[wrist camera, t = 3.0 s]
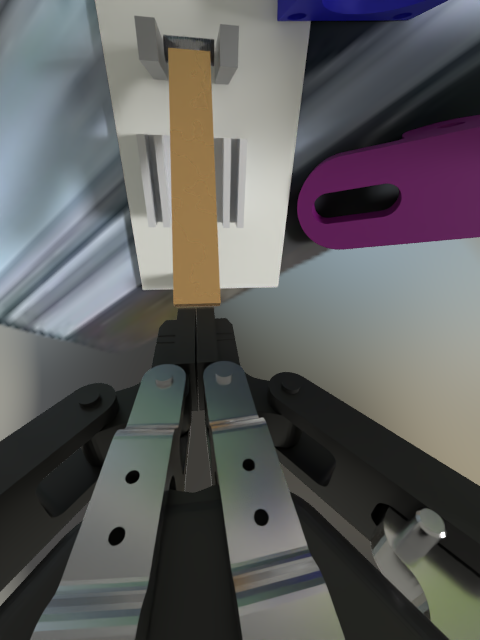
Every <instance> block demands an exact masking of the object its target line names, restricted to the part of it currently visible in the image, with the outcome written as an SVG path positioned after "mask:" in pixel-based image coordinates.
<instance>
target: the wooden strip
mask: <svg viewBox="0 0 480 640" xmlns="http://www.w3.org/2000/svg"><path fill="white" fill-rule="evenodd" d="M163 46H164V56H165V62H166V63H169V109H170V156H171V203H172V250H173V297H174V306H175V307H197V306H220V303H221V301H220V277H219V253H218V229H217V206H216V182H215V158H214V134H213V110H212V86H211V66H214V39H207V38H196V37H185V36H174V35H163Z"/></svg>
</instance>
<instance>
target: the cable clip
mask: <svg viewBox="0 0 480 640" xmlns="http://www.w3.org/2000/svg"><path fill="white" fill-rule="evenodd" d="M446 1H448V0H278V8H277V21H371V20H409V19H411V18H413V17H415V16H417V15H420V14H422V13H424V12H426V11H428V10H430V9H432V8H434V7H436V6H438V5H440V4H442V3H444V2H446Z"/></svg>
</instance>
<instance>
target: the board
mask: <svg viewBox="0 0 480 640" xmlns="http://www.w3.org/2000/svg"><path fill="white" fill-rule="evenodd" d="M95 4H96V10H97V16H98V22H99V28H100V34H101V41H102V47H103V53H104V59H105V65H106V71H107V77H108V83H109V89H110V95H111V101H112V107H113V113H114V119H115V125H116V131H117V137H118V143H119V150H120V156H121V162H122V168H123V174H124V180H125V186H126V192H127V198H128V204H129V210H130V216H131V222H132V228H133V234H134V240H135V246H136V252H137V258H138V265H139V271H140V277H141V283H142V289H143V290H159V289H173V250H172V203H171V156H170V109H169V63H166V62H165V56H164V46H163V35H174V36H185V37H196V38H207V39H214V66H211V86H212V110H213V134H214V158H215V182H216V206H217V229H218V253H219V277H220V288H259V287H278V282H279V274H280V266H281V258H282V250H283V242H284V234H285V226H286V217H287V209H288V201H289V193H290V185H291V177H292V169H293V161H294V153H295V145H296V137H297V129H298V121H299V113H300V105H301V97H302V89H303V80H304V72H305V64H306V56H307V48H308V40H309V32H310V24H311V21H277V8H278V0H95Z"/></svg>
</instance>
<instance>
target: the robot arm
mask: <svg viewBox="0 0 480 640" xmlns="http://www.w3.org/2000/svg"><path fill="white" fill-rule="evenodd" d="M198 390H199V407H200V410H205V429H206V438H207V447H208V455H209V464H210V473H211V482H212V486H211V487H209V488H206V489H204V490H201V491H198V492H195V493H189V492H185V478H186V469H187V460H188V450H189V441H190V431H191V430H190V429H191V428H190V426H191V421H192V411H198ZM80 447H81V448H80ZM75 451H76V452H75ZM74 452H75V453H74ZM73 453H74V454H73ZM68 457H69V458H68ZM67 458H68V459H67ZM62 462H63V463H62ZM61 463H62V464H61ZM280 463H281V464H283V465H284V466H285V467H286V468H287V469H288V470H289V471H291V472H292V473H293V474H294V475H295V476H296V477H298V478H299V479H300V480H301V481H302V482H303V483H304V484H305V485H307V486H308V487H309V488H310V489H311V490H312V491H313V492H315V493H316V494H317V495H318V496H319V497H321V499H323V500H324V501H325V502H326V503H327V504H328V505H329V506H331V507H332V508H333V509H334V510H335V511H336V512H337V513H339V514H340V515H341V516H342V517H343V518H344V519H346V520H347V521H348V522H349V523H350V524H351V525H352V526H354V527H355V528H356V529H357V530H358V531H359V532H360V533H361V534H363V535H364V536H365V537H366V538H367V539H368V540H369V541H371V549H372V553H373V557H374V559H375V562H376V564H377V565H378V567H379V569H380V571H381V572H380V571H379V570H378V569H376V568H375V567H374V566H373V565H372V564H371V563H370V562H369V561H368V560H367V559H366V558H365V557H364V556H363V555H362V554H361V553H360V552H359V551H358V550H357V549H356V548H355V547H354V546H353V545H352V544H350V542H349V541H348V540H347V539H345V537H343V536H342V535H341V534H340V533H339V532H338V531H337V530H336V529H335V528H334V527H333V526H332V525H331V524H330V523H329V522H328V521H327V520H326V519H325V518H324V517H323V516H322V515H321V514H320V513H319V512H318V511H317V510H316V509H315V508H313V507H312V506H311V505H310V504H309V503H307V502H306V501H305V500H304V499H302V498H300V497H299V496H297V495H296V494H294V493H292V492H289V489H288V486H287V483H286V480H285V477H284V474H283V471H282V468H281V465H280ZM56 467H57V468H56ZM55 468H56V469H55ZM54 469H55V470H54ZM49 473H50V474H49ZM48 474H49V475H48ZM89 501H90V502H89ZM88 502H89V505H88V508H87V511H86V513H85V516H84V519H83V521H82V522H80V523H79V524H78V525H76V526H75V527H74V528H73V529H72V530H71V531H70V532H69V533H67V534H66V535H65V536H64V537H63V538H62V539H61V540H60V541H59V543H58V544H57V545H56V546H55V547H54V548H53V549H52V550H51V551H50V552H49V553H48V555H47V556H46V557H45V558H44V559H43V560H42V561H41V562H40V564H38V565H37V567H36V568H35V569H34V570H33V571H32V572H31V573H30V574H29V575H28V576H27V578H26V579H25V580H24V581H23V582H22V583H21V584H20V585H19V586H18V587H17V588H16V590H15V591H14V592H13V593H12V594H11V595H10V596H9V597H8V598H7V599H6V600H5V602H4V603H3V604H2V605H1V606H0V640H480V486H479V485H477V484H475V483H474V482H472V481H471V480H469V479H467V478H466V477H464V476H462V475H461V474H459V473H458V472H456V471H454V470H453V469H451V468H449V467H448V466H446V465H445V464H443V463H441V462H439V461H438V460H437V459H435V458H433V457H431V456H430V455H428V454H427V453H425V452H424V451H422V450H420V449H419V448H417V447H415V446H414V445H412V444H411V443H409V442H407V441H406V440H404V439H403V438H401V437H399V436H397V435H396V434H395V433H393V432H391V431H390V430H388V429H386V428H385V427H383V426H382V425H380V424H378V423H377V422H375V421H373V420H372V419H370V418H369V417H367V416H365V415H364V414H362V413H361V412H359V411H357V410H356V409H354V408H352V407H351V406H349V405H348V404H346V403H344V402H343V401H341V400H339V399H338V398H336V397H334V396H333V395H331V394H329V393H328V392H326V391H325V390H323V389H322V388H320V387H318V386H317V385H315V384H314V383H312V382H310V381H309V380H307V379H306V378H304V377H302V376H300V375H298V374H295V373H290V372H282V373H279V374H276V375H275V376H273V377H272V378H271V380H270V381H267V380H261V379H257V378H253V377H251V376H249V375H248V374H246V373H245V372H244V370H243V369H242V368H241V366H240V363H239V357H238V353H237V347H236V342H235V336H234V331H233V326H232V324H231V323H230V322H229V321H228V320H227V319H226V318H221V319H215V316H214V307H210V308H197V325H196V309H195V308H180V309H178V315H177V320H166V321H165V322H164V323H163V324H162V325H161V327H160V328H159V333H158V338H157V344H156V348H155V353H154V358H153V363H152V368H151V369H150V370H149V371H147V372H146V374H145V375H144V376H143V378H142V381H141V383H139V384H137V385H135V386H133V387H130V388H127V389H123V390H120V391H117V392H115V390H114V389H113V387H111V386H110V385H108V384H104V383H95V384H90V385H87V386H84V387H81V388H79V389H78V390H76V391H75V392H73V393H72V394H70V395H69V396H67V397H66V398H64V399H63V400H61V401H60V402H58V403H57V404H55V405H54V406H52V407H51V408H49V409H48V410H46V411H45V412H43V413H42V414H40V415H39V416H37V417H36V418H35V419H33V420H31V421H30V422H29V423H27V424H26V425H24V426H23V427H21V428H20V429H18V430H17V431H15V432H14V433H12V434H11V435H10V436H8V437H6V438H5V439H3V440H2V441H0V591H1V590H2V589H3V588H4V587H5V586H6V585H7V584H8V583H9V582H10V581H11V580H12V579H13V578H14V577H15V576H16V575H17V574H18V573H19V572H20V571H21V570H22V569H23V568H24V567H25V566H26V565H27V564H28V563H29V562H30V561H31V560H32V559H33V558H34V557H35V556H36V554H38V553H39V552H40V550H42V549H43V548H44V547H45V546H46V545H47V544H48V543H49V542H50V540H51V539H52V538H53V537H54V536H55V535H56V534H57V533H58V532H59V531H60V530H61V529H62V528H63V527H64V526H65V525H66V524H67V523H68V522H69V521H70V520H71V519H72V518H73V517H74V516H75V515H76V514H77V513H78V512H79V511H80V510H81V509H82V508H83V507H84V506H85V505H86V504H87V503H88Z"/></svg>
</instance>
